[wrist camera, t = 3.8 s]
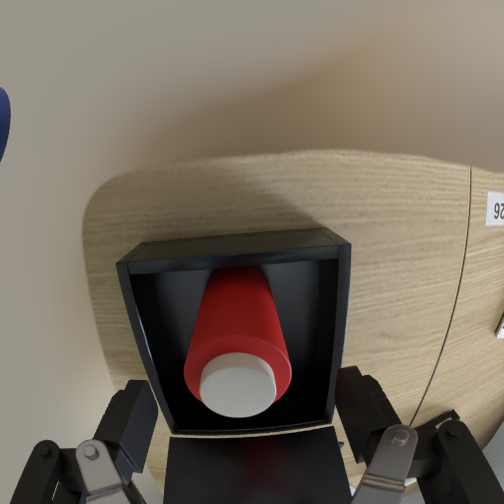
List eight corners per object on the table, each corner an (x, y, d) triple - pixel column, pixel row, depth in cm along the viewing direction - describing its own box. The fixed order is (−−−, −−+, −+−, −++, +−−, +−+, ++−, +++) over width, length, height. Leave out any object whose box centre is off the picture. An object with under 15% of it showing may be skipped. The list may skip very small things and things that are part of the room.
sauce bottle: (198, 315, 20) (174, 416, 11) (212, 255, 19) (189, 337, 9) (260, 329, 21) (274, 433, 11) (279, 272, 20) (313, 361, 10)
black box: (140, 242, 19) (114, 263, 15) (326, 227, 20) (351, 243, 15) (179, 398, 24) (171, 434, 19) (319, 388, 24) (331, 423, 19)
